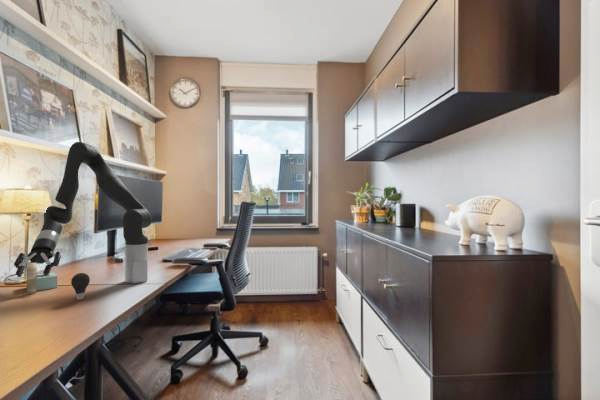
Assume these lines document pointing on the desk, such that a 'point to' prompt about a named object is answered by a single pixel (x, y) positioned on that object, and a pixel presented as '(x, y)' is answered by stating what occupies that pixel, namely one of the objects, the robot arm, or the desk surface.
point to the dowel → (31, 278)
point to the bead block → (46, 281)
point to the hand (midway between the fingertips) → (31, 275)
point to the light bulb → (80, 284)
